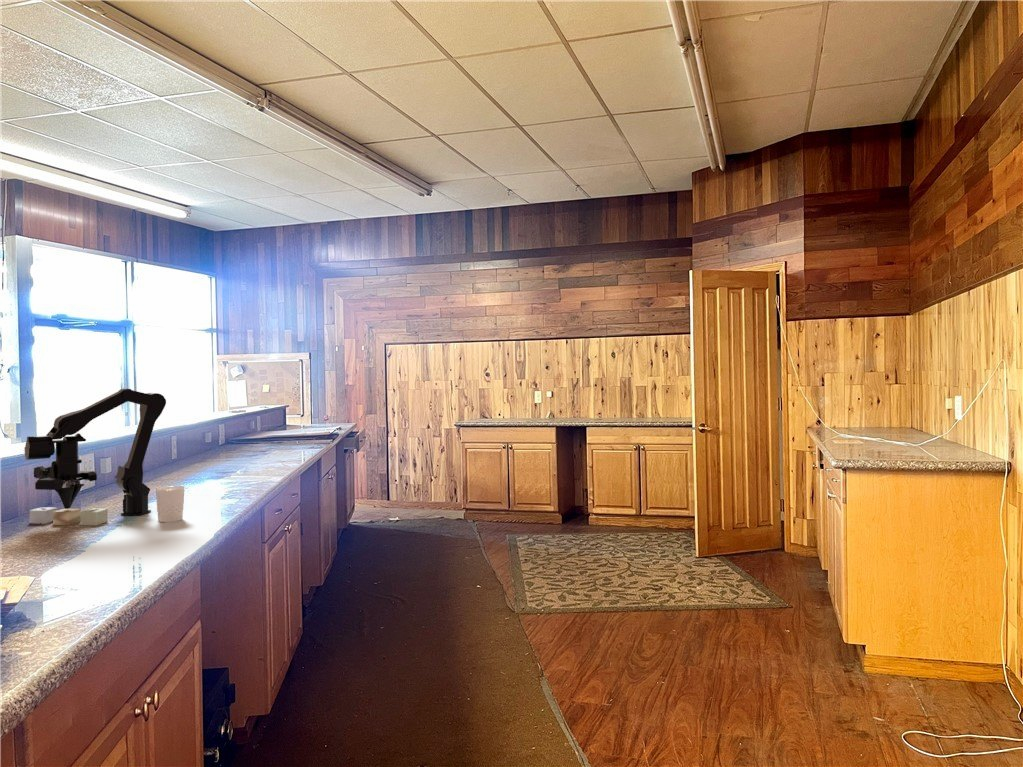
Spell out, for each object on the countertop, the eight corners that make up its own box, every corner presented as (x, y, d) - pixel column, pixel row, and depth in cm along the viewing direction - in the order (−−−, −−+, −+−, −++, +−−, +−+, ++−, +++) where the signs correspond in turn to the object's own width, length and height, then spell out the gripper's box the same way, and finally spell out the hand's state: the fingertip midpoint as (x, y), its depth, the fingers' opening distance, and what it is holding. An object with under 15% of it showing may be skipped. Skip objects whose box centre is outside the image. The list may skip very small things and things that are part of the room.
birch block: (80, 521, 213) (80, 508, 213) (68, 525, 208) (68, 512, 208) (65, 521, 213) (65, 508, 213) (53, 525, 208) (52, 511, 208)
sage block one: (107, 521, 213) (107, 508, 213) (96, 525, 208) (96, 511, 208) (91, 521, 213) (91, 508, 213) (80, 525, 208) (80, 511, 208)
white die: (57, 520, 214) (57, 507, 214) (45, 524, 209) (45, 510, 209) (42, 520, 215) (42, 506, 215) (29, 523, 210) (29, 510, 210)
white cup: (150, 521, 214) (150, 488, 214) (173, 516, 221) (173, 484, 221) (167, 523, 210) (167, 491, 210) (190, 519, 217) (190, 487, 217)
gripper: (64, 452, 220) (65, 501, 221) (17, 460, 202) (17, 514, 202) (97, 453, 219) (98, 502, 219) (53, 461, 201) (53, 515, 201)
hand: (67, 508), depth 211 cm, fingers closed
